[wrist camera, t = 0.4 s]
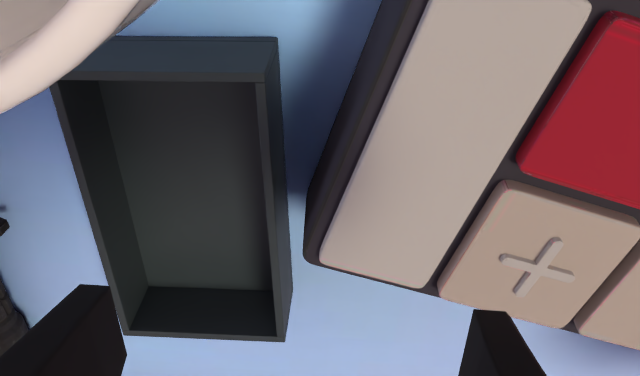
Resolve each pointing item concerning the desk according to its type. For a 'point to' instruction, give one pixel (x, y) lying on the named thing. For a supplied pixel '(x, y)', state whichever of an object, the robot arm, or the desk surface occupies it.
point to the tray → (185, 182)
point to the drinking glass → (54, 40)
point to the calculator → (492, 161)
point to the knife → (9, 313)
